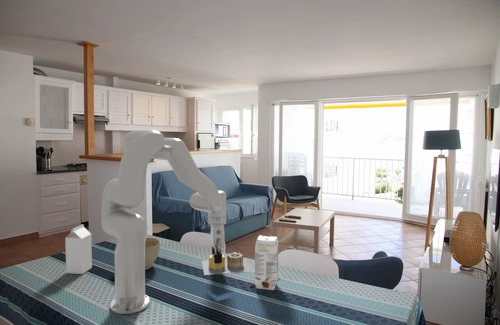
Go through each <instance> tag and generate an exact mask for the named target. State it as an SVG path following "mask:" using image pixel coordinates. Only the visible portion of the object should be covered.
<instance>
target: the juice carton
mask: <svg viewBox="0 0 500 325" xmlns="http://www.w3.org/2000/svg"><path fill="white" fill-rule="evenodd" d="M278 278H279V238H278V236H265V235H261V234H260V235H258V237H257V239H256V240H255V246H254V283H255V284H254V285H255V288H256V289H258V290H268V291H274V290H275V289H276V285H277V282H278Z"/></svg>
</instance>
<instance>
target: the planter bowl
mask: <svg viewBox="0 0 500 325" xmlns="http://www.w3.org/2000/svg"><path fill="white" fill-rule="evenodd" d="M160 247H161V240H159V238H155V237H147V236H146V240H145V271H146V270H149V269H151V268H152V267H153V265H154V263H155V261H156V260H157V257H158V256H159V253H160Z"/></svg>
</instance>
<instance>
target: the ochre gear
mask: <svg viewBox="0 0 500 325" xmlns="http://www.w3.org/2000/svg"><path fill="white" fill-rule="evenodd" d="M225 259H226V256H225V254H222V263H218V264H215V263H214V254H212V253H211V254H209V255H208V260H209V268H212V269H213V270H216V269H222V268H224V267H225Z"/></svg>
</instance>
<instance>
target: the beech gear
mask: <svg viewBox="0 0 500 325" xmlns="http://www.w3.org/2000/svg"><path fill="white" fill-rule="evenodd" d="M236 253H237V257H234V252H231V253H227V256H226V259H227V266H229V267H230V268H239V267H242V265H243V258H244V254H242V253H241V252H236Z"/></svg>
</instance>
